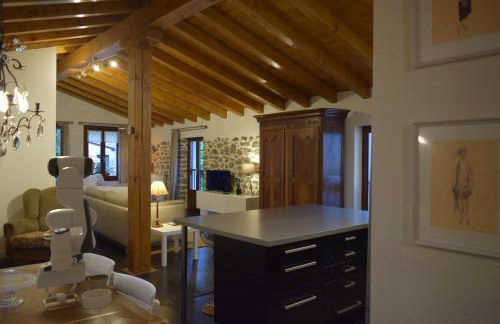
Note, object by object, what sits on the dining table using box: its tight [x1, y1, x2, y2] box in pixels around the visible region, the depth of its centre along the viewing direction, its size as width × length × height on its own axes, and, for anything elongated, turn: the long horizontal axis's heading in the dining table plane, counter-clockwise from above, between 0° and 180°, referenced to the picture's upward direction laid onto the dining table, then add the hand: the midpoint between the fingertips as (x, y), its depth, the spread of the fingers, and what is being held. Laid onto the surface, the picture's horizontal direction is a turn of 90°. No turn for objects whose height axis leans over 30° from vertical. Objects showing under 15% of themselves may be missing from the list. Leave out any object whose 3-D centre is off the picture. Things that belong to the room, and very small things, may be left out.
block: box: [58, 296, 67, 304], centre depth 165 cm, size 4×3×4 cm
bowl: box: [80, 288, 113, 310], centre depth 167 cm, size 12×12×5 cm
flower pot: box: [87, 273, 110, 290], centre depth 180 cm, size 9×9×9 cm
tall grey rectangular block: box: [55, 292, 66, 304], centre depth 169 cm, size 4×3×4 cm
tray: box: [41, 292, 82, 312], centre depth 167 cm, size 12×14×2 cm
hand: (61, 294), depth 169 cm, fingers open, 8 cm apart
